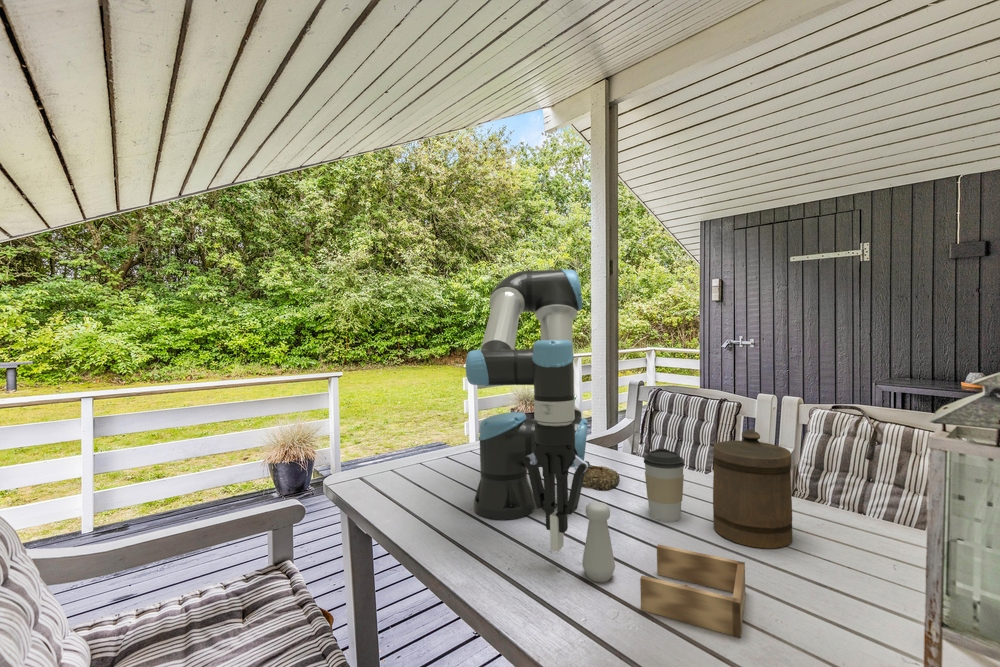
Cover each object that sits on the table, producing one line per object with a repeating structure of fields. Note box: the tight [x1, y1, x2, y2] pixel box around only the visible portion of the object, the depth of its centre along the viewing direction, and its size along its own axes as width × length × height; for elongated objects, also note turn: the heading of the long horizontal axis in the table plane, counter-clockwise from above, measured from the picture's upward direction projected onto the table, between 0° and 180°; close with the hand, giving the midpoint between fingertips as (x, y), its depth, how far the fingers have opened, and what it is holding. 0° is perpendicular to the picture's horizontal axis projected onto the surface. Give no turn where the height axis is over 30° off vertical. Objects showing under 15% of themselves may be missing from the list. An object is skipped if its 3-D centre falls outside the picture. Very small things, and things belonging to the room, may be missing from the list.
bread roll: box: [582, 465, 621, 492], centre depth 134 cm, size 13×12×5 cm
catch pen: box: [639, 544, 746, 638], centre depth 76 cm, size 14×13×5 cm
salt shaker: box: [581, 501, 616, 583], centre depth 84 cm, size 6×6×13 cm
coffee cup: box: [643, 448, 685, 523], centre depth 110 cm, size 9×9×15 cm
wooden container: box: [712, 429, 793, 549], centre depth 99 cm, size 15×15×22 cm
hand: (557, 548), depth 87 cm, fingers closed
